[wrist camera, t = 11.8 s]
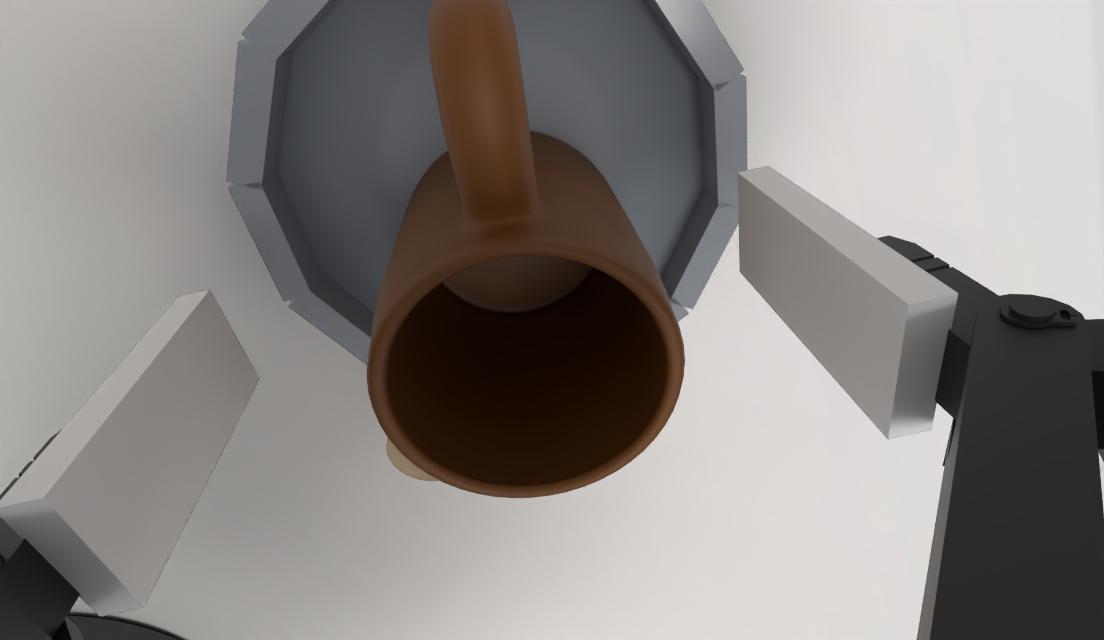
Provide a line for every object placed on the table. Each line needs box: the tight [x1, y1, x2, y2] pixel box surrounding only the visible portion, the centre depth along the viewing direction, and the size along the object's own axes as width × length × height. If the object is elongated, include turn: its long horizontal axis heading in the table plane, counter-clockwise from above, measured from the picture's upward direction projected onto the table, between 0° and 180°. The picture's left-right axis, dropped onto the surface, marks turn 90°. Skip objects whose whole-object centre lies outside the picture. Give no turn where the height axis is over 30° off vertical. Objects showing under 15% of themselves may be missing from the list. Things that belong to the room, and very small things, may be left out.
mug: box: [367, 0, 685, 498], centre depth 17 cm, size 12×8×9 cm, turn 7°
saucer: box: [226, 0, 747, 364], centre depth 20 cm, size 16×16×2 cm
